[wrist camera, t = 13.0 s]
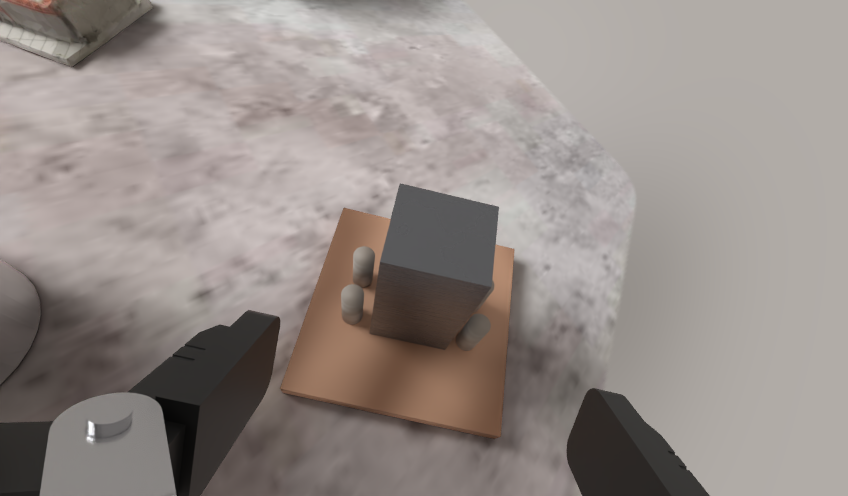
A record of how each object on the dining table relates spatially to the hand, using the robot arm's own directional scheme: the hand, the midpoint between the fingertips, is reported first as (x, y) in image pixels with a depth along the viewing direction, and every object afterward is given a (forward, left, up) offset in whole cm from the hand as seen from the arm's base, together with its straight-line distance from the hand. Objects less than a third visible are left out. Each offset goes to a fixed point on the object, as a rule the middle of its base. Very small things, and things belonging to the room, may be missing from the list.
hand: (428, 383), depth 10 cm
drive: (-3, +6, -13) cm, 14 cm away
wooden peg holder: (-4, +6, -14) cm, 15 cm away
